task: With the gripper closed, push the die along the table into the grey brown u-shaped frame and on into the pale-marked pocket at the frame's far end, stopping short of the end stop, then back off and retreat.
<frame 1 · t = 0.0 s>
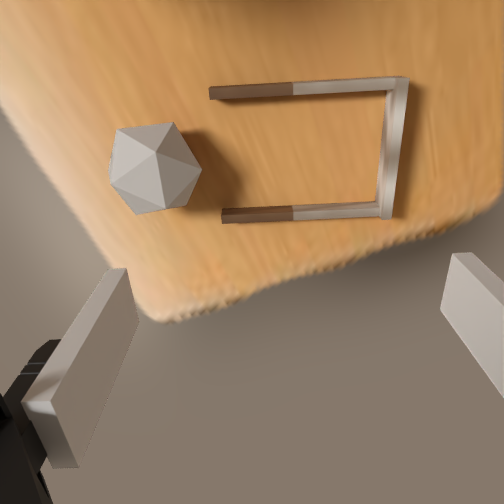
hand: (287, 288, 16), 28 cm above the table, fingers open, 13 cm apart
grey brown u-shaped frame: (300, 152, 41), on the table
die: (162, 159, 42), on the table
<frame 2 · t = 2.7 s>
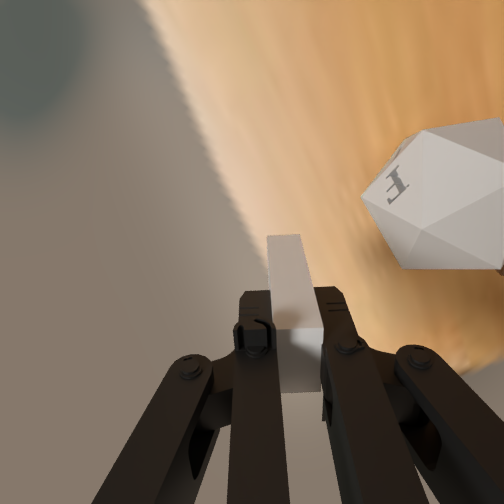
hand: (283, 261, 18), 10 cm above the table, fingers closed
die: (420, 175, 26), on the table
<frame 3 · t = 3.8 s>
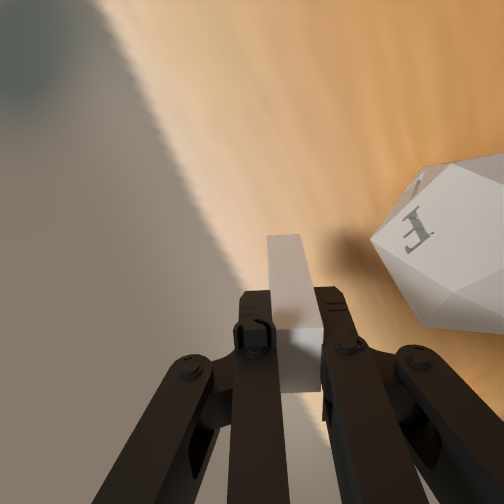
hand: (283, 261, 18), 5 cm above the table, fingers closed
die: (440, 209, 22), on the table
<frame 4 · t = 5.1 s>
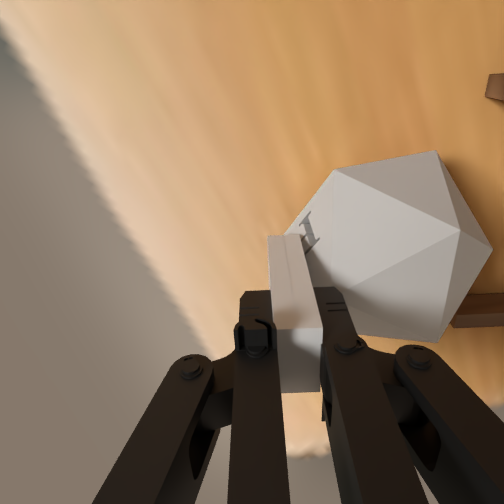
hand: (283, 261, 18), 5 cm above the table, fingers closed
die: (357, 213, 22), on the table, touching gripper
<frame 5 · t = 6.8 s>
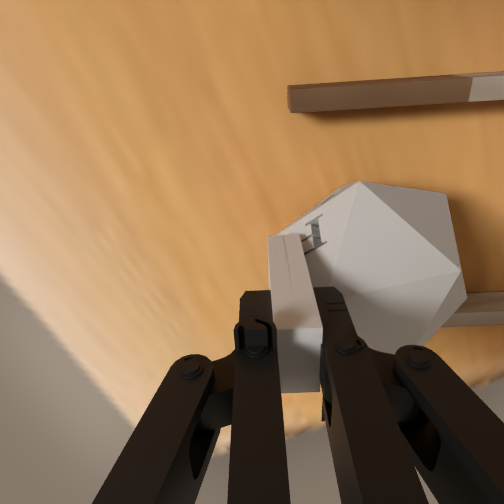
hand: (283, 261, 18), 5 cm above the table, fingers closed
grey brown u-shaped frame: (447, 208, 22), on the table
die: (350, 231, 23), on the table, touching gripper
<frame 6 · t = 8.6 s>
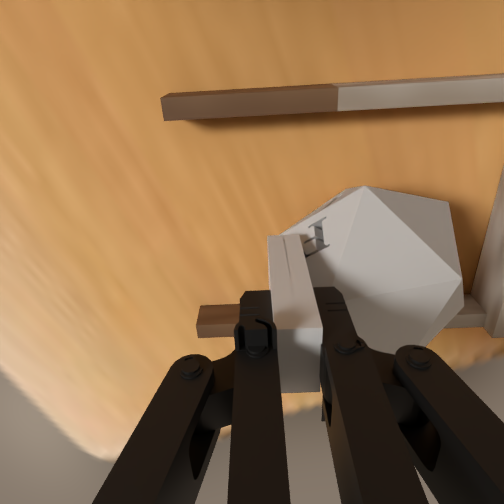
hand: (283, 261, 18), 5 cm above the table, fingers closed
grey brown u-shaped frame: (342, 214, 22), on the table
die: (350, 235, 23), on the table, touching gripper
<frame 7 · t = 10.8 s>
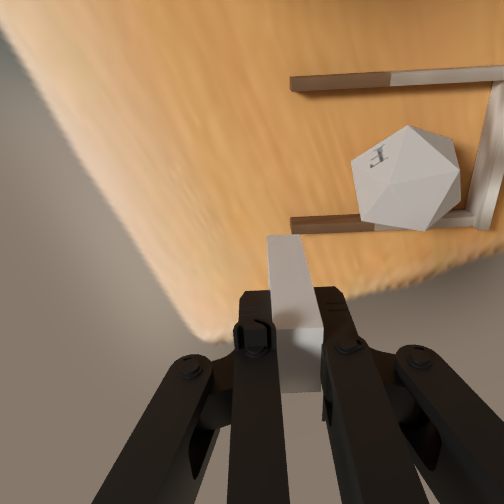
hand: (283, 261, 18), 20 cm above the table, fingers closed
grey brown u-shaped frame: (386, 153, 36), on the table
die: (390, 167, 37), on the table
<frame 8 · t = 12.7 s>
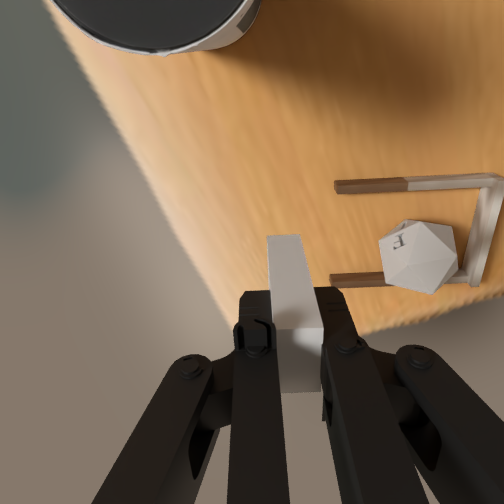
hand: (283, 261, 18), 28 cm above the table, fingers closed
grey brown u-shaped frame: (403, 230, 48), on the table
die: (405, 239, 49), on the table
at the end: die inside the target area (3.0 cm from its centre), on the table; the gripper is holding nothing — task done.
